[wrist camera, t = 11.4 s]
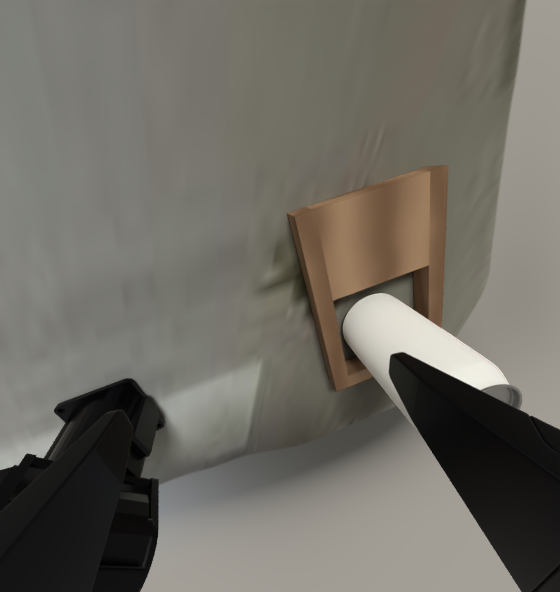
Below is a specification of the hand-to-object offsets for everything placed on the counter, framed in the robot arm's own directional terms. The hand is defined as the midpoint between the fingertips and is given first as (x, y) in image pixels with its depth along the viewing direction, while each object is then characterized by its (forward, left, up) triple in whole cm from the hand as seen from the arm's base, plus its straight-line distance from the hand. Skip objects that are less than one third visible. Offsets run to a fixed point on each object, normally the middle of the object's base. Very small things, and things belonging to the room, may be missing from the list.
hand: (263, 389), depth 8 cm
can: (+11, -10, -13) cm, 20 cm away
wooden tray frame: (+11, -6, -13) cm, 18 cm away
